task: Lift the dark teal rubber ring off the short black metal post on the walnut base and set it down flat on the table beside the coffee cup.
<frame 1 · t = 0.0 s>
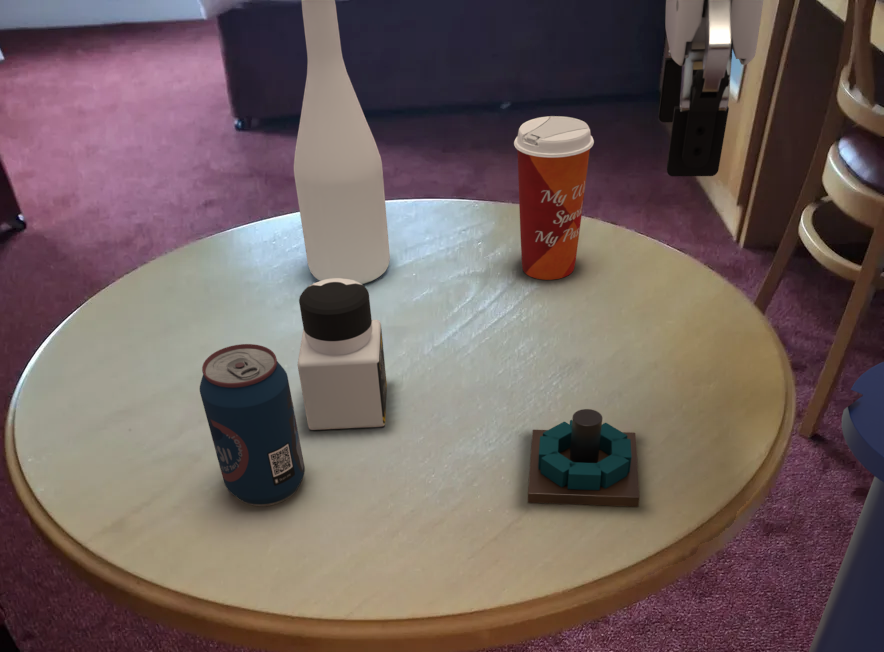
hand: (685, 146, 62), 25 cm above the table, tool pointing down, fingers open, 9 cm apart
coffee cup: (548, 269, 104), on the table
wine bottle: (350, 271, 106), on the table
soda can: (267, 487, 79), on the table
medicine bottle: (349, 409, 87), on the table
ring post: (582, 471, 78), on the table
ring: (584, 454, 77), point 2 cm above the table, touching ring post
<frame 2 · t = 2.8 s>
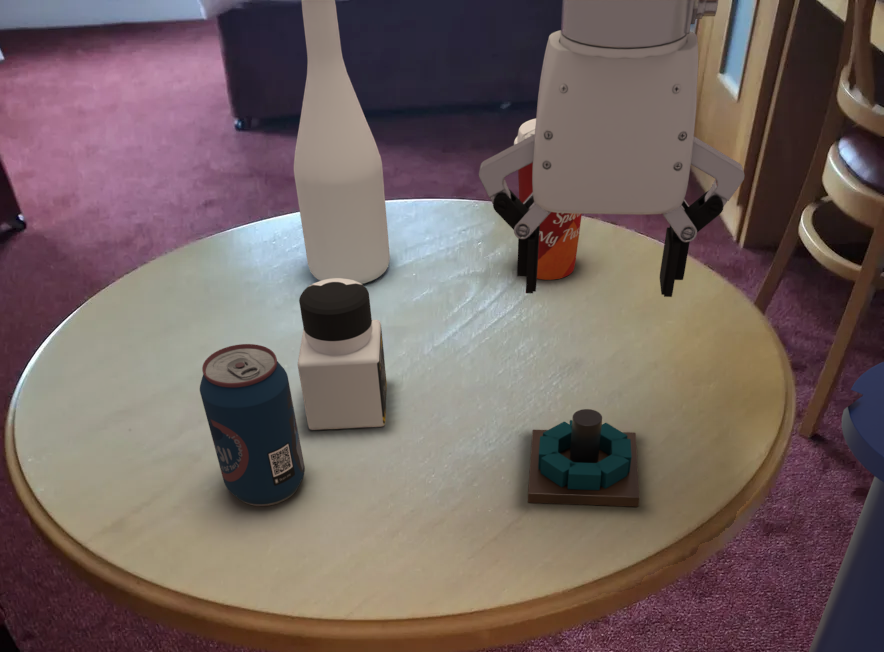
hand: (597, 286, 66), 17 cm above the table, tool pointing down, fingers open, 9 cm apart
nothing on the table moved.
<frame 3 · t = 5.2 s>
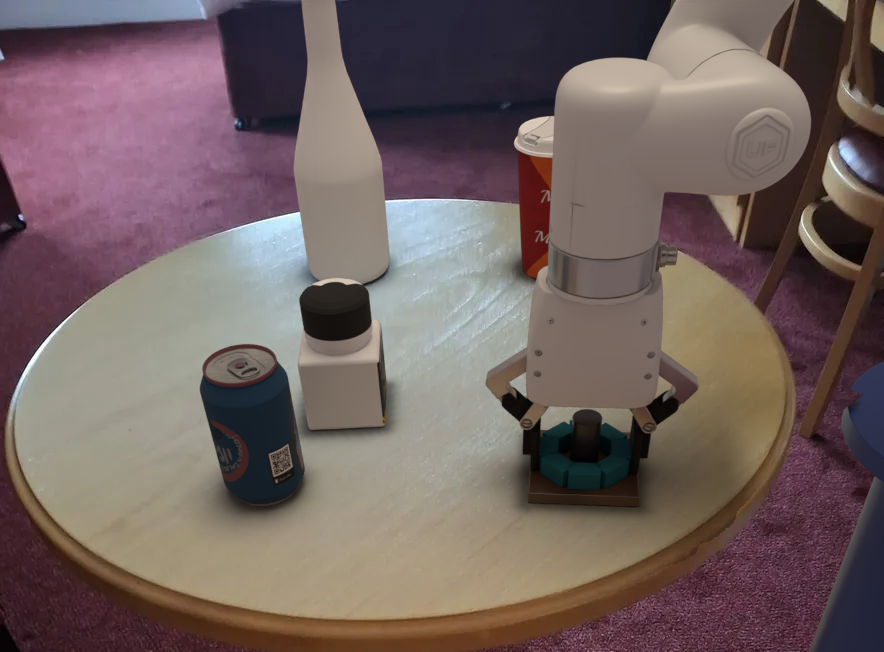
hand: (583, 460, 77), 1 cm above the table, tool pointing down, fingers closed on ring, 7 cm apart
ring: (584, 454, 77), point 2 cm above the table, touching gripper, ring post
everything else where it was.
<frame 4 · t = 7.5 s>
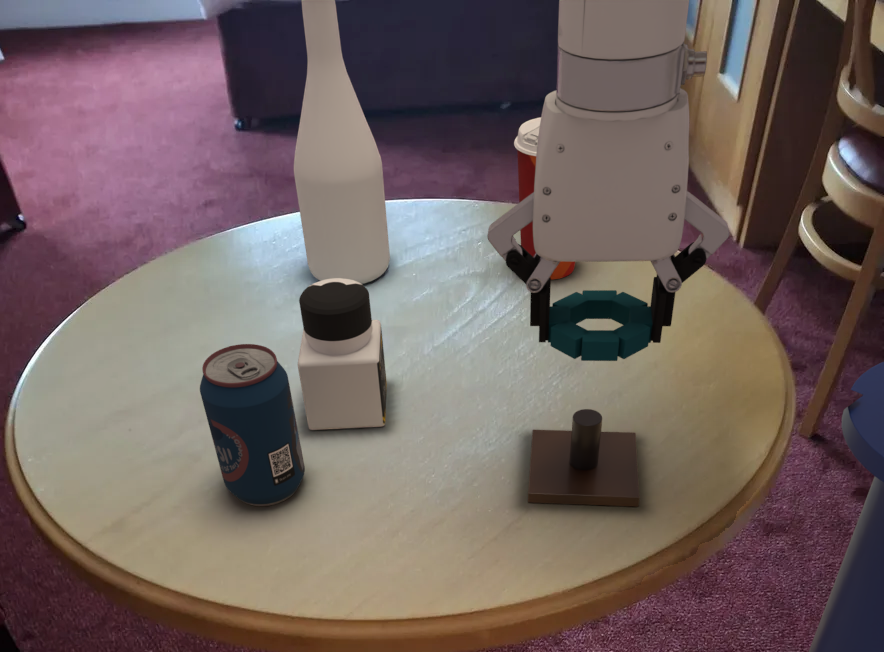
hand: (598, 332, 69), 13 cm above the table, tool pointing down, fingers closed on ring, 7 cm apart
ring: (599, 324, 68), point 14 cm above the table, touching gripper
everything else where it was.
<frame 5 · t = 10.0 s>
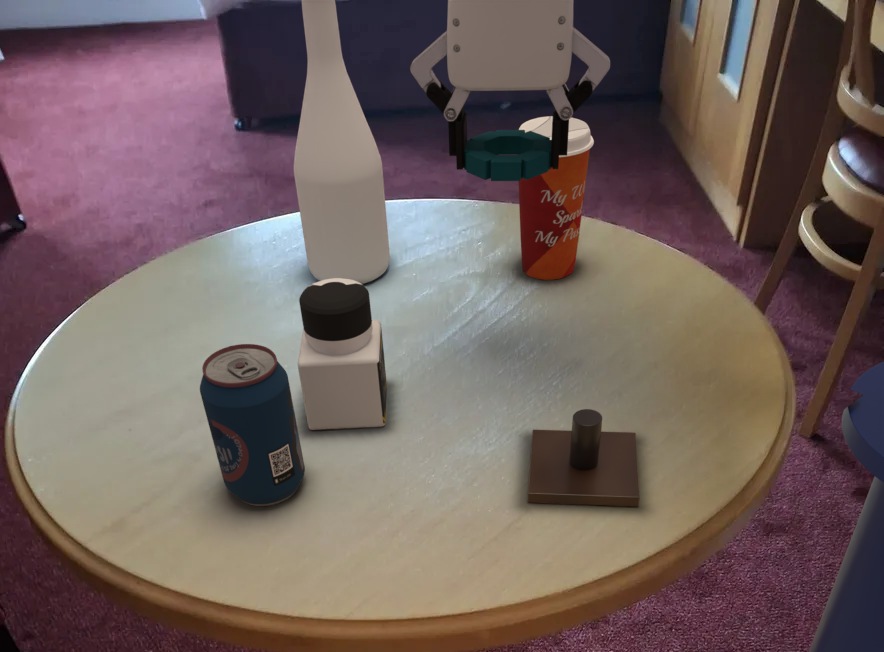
hand: (508, 162, 81), 18 cm above the table, tool pointing down, fingers closed on ring, 7 cm apart
ring: (508, 154, 80), point 18 cm above the table, touching gripper
everything else where it was.
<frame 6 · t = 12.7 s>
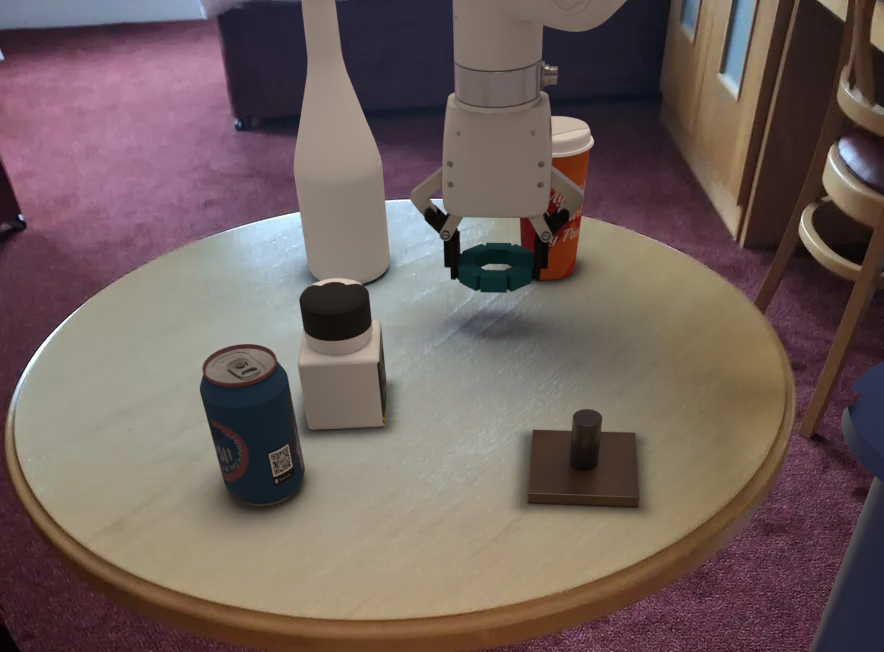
hand: (496, 273, 92), 6 cm above the table, tool pointing down, fingers closed on ring, 7 cm apart
ring: (496, 267, 91), point 6 cm above the table, touching gripper
everything else where it was.
when the fingers open (0 cm above the table, at t = 14.7 s): ring stays where it is, point 1 cm above the table.
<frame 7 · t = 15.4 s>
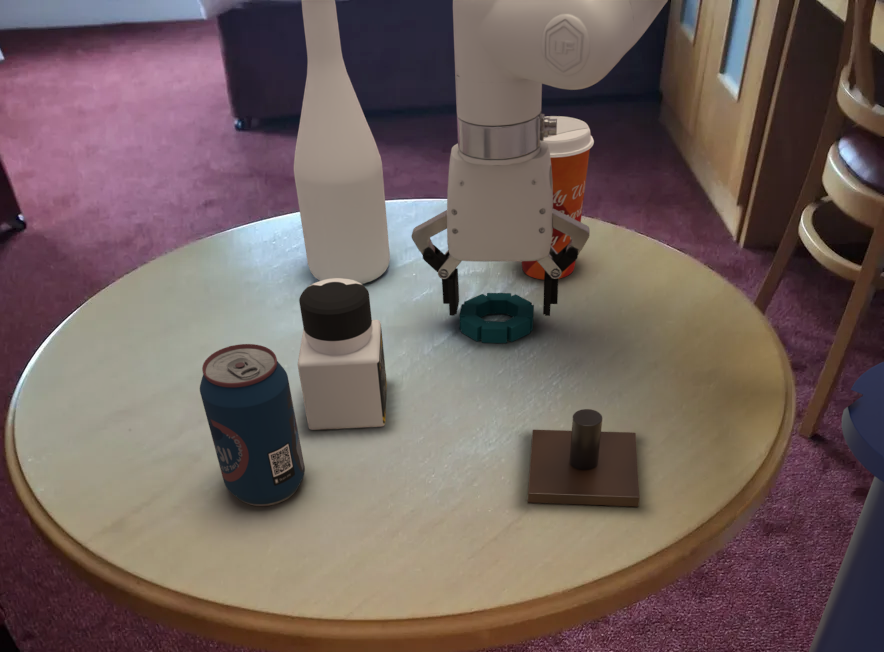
hand: (500, 309, 95), 2 cm above the table, tool pointing down, fingers open, 9 cm apart
ring: (496, 317, 95), point 1 cm above the table
everything else where it was.
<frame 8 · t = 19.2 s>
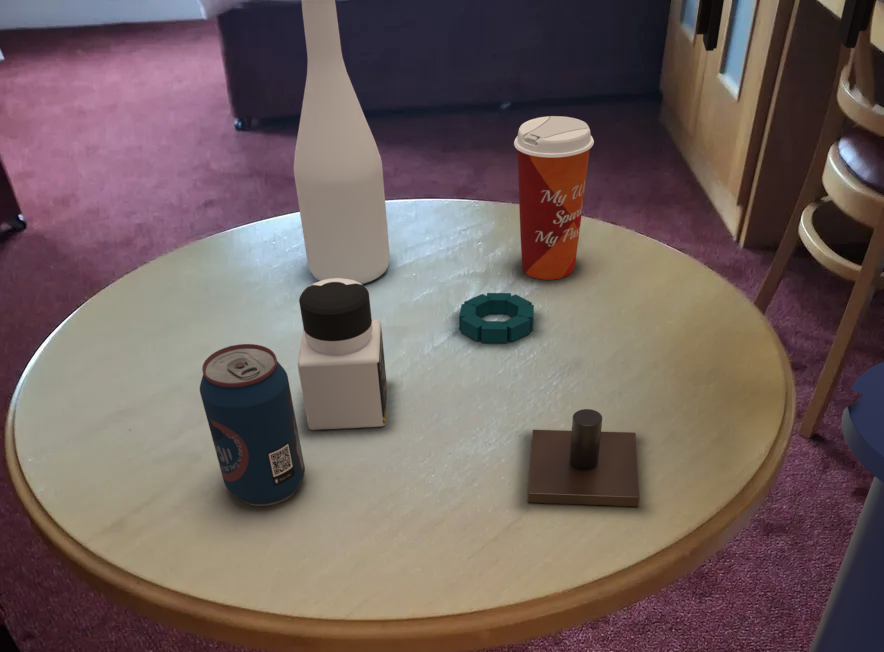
hand: (776, 44, 66), 28 cm above the table, tool pointing down, fingers open, 9 cm apart
nothing on the table moved.
at the end: ring moved 26.2 cm from its start; ring point 0.8 cm above the table; ring 13.9 cm from the coffee cup (horizontally) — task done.
